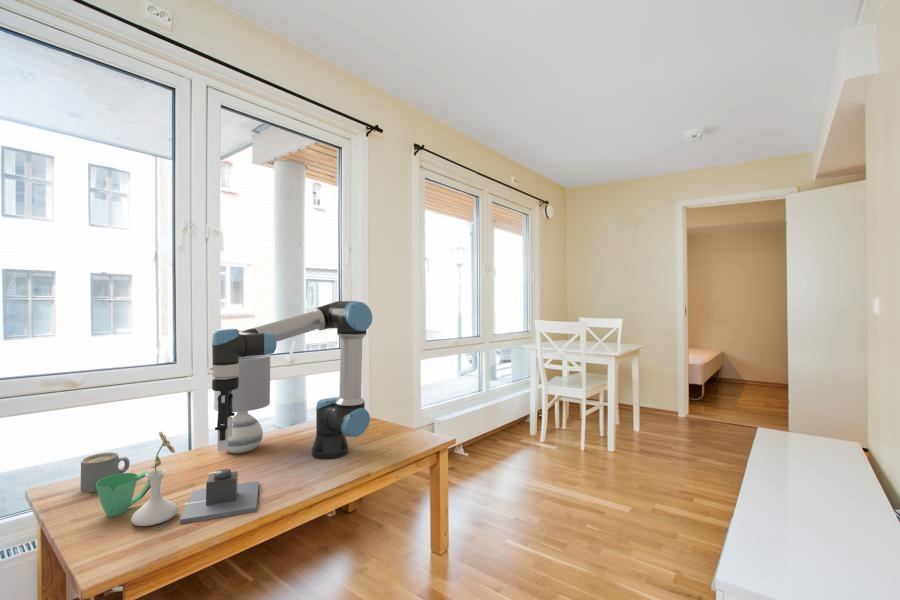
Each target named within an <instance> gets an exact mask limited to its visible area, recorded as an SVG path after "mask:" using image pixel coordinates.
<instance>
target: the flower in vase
mask: <svg viewBox="0 0 900 600" xmlns="http://www.w3.org/2000/svg"><path fill="white" fill-rule="evenodd" d="M158 435H159V437H160V439H161V441H162V444H161V446H160V447H159V449H158V451H157V453H156V456H155V460H154V465H153V466H152V467H151V469H153V470H151V471H149V472H148V473H146V474H145V476H146V477H145V478H147V480H148V479H149V481H150V485H151V487H150V497H149V498H148V500H147V501H146V502H145V503H144V504H143V505H141V506H140V507H139V508H138V509H137V510H136V511H135V512H134V513H133V514H132V516H131V518H130V523H132V525H135V526H139V527H149V526H154V525H159V524H161V523H164V522H167V521H168V520H170V519H172V518H173V517H175V516H176V514H178V511H179V507H178V505H177V504H176V503H175V502H173V501H171V500H169V499H166V498H164V497H163V496H162V495H161V484H162V479H163V477H164V475H165V474H166V473H167V470H166V469H157V467H159V466H161V465H162V460H161V459H160V456H159V455H160V454H159V453H160V451H161V450H162V447H166V448H167V450H168V451H169V452H170V453H171V454H175V453H176V451H175V448H174V446H172V445H171V442H170V440H167V436H166V435H165V434H164V433H163V431H159V432H158Z"/></svg>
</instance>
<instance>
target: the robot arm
mask: <svg viewBox="0 0 900 600" xmlns="http://www.w3.org/2000/svg"><path fill="white" fill-rule="evenodd" d="M372 323H373V312H372V310H371V308H370V307H369V306H368V305H367V304H366V303H365V302H362V301H357V300H347V301H346V300H338V301H335V302H331V303H327V304H323V305H322V306H318V307H316V308H313V309H312V310H311V311H310V312H305V313H302V314H298V315H295V316H292V317H287V318H284V319H280V320H276V321H273V322H269V323H266V324H262V325H260V326H256V327H252V328H248V329H244V330H239V329H237V328H219V329H215V330H213V332H212V340H211V342H212V343H211V347H212V348H211V349H212V356H211V357H212V359H211V360H212V366H211V367H210V369H209V370H210V371H212V373H211V375H212V377H213V378H212V380H211V390H212V391H213V392H214V391H220V392H221V393H220V395H219V396H218V411H217V421H216V422H217V425H216V426H215V427H214V431H217V452H221V451H226V450H228V437H232V418H233V417H234V416H235V412H233V410H232V399H233V394H232V390H235V389H237V388H238V387H239V378H238V377H237V376H238V375H239V357H246V356H259V355H264V356H265V355H272V354H274V353H275V352H276V349H277V347H278V345H277V343H278V342H280V341H284V340H287V339H289V338H293V337H296V336H300V335H303V334H306V333H309V332H312V331H315V330H317V331H319V332H320V331H321V332H322V331H324V330H327V329H336V330H337V331H336V335H337V336H338V337H339V338H340V357H339V359H340V360H339V362H340V363H339V393H338V394H339V396H335V397H334V396H333V397H327V398H322V399H320V400H318V401H317V403H316V408H315V410H316V416H315V417H316V418H315V420H316V425H315V427H316V433H315V438H314V441H313V444H312V448H311V456H312V457H314V458H316V459H322V460H327V459H328V460H329V459H337V458H340V457H341V458H342V457H343V456H345V455H347V454H348V453H349V450H350V449H349V447H350V446H349V444H348V440H347V437H350V438H356V437H360V436H361V435H362V434H364V433H365V431H366V430H367V429H368V427H369V426H370V421H371V415H370V413H369V412H368V410H367V409H365V407H366V406H365V403H366V402H365V399H364V398H362V379H363V378H362V375H363V373H362V372H363V367H362V366H363V339H364V337H366V335H367V330H368V329H369V328H370V326H371V325H372ZM214 377H215V378H214Z"/></svg>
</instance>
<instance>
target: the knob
mask: <svg viewBox="0 0 900 600" xmlns="http://www.w3.org/2000/svg"><path fill="white" fill-rule="evenodd" d="M238 474H239V472H238V471H237V470H236V471H232V470H231V469H230V468H229V469H228V468H224V469H219V470H215V471H212V472H208V473H207V475H208V477H207V480H206V483H205V484H206V485H205V489H206V505H212V504H218V503H225V502H231V501H236V497H237V485H238V484H239V483H238V482H239V481H238V480H239V479H238Z"/></svg>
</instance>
